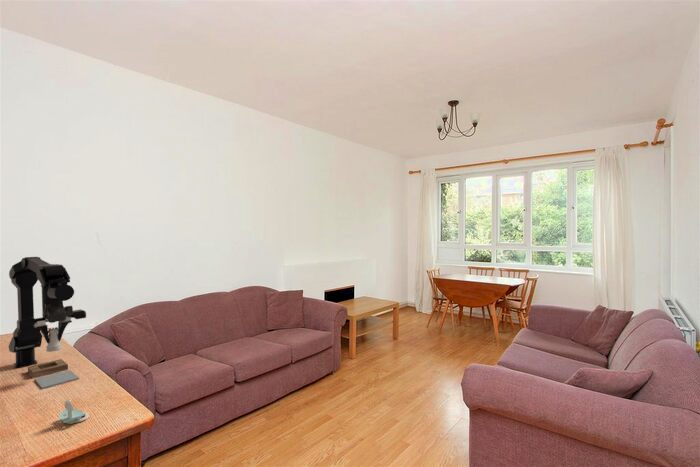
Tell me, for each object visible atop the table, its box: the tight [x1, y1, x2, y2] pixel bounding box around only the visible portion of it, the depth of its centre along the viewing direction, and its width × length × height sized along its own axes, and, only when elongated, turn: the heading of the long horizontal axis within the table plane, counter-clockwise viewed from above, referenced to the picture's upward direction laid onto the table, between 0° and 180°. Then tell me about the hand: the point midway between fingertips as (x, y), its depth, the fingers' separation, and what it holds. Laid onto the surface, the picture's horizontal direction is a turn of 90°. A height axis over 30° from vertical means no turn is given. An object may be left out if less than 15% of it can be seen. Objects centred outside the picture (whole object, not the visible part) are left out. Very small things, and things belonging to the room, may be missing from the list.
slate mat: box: [34, 369, 80, 390], centre depth 124 cm, size 12×10×1 cm
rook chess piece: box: [45, 326, 62, 353], centre depth 127 cm, size 4×4×8 cm
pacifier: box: [58, 398, 90, 425], centre depth 96 cm, size 7×6×6 cm
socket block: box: [27, 358, 69, 379], centre depth 132 cm, size 10×10×2 cm
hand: (53, 342), depth 127 cm, fingers closed on rook chess piece, 3 cm apart
